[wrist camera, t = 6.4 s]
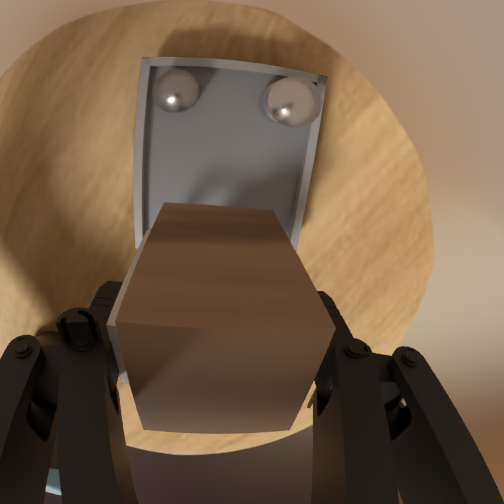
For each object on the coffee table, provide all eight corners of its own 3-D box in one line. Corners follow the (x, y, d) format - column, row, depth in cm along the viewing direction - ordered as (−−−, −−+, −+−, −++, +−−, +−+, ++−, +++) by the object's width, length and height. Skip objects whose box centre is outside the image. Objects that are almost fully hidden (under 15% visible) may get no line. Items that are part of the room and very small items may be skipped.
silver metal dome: (157, 112, 23) (150, 112, 20) (161, 73, 21) (154, 69, 18) (198, 113, 23) (195, 113, 21) (202, 74, 22) (200, 69, 19)
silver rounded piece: (256, 120, 24) (265, 123, 20) (262, 78, 22) (273, 71, 18) (300, 126, 25) (318, 131, 20) (306, 85, 23) (325, 82, 19)
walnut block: (163, 202, 13) (114, 321, 6) (272, 210, 14) (335, 327, 7) (164, 293, 15) (143, 429, 8) (257, 298, 16) (289, 429, 9)
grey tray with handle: (142, 234, 30) (116, 290, 21) (150, 62, 22) (116, 41, 13) (287, 243, 33) (315, 299, 24) (315, 79, 25) (364, 69, 16)
